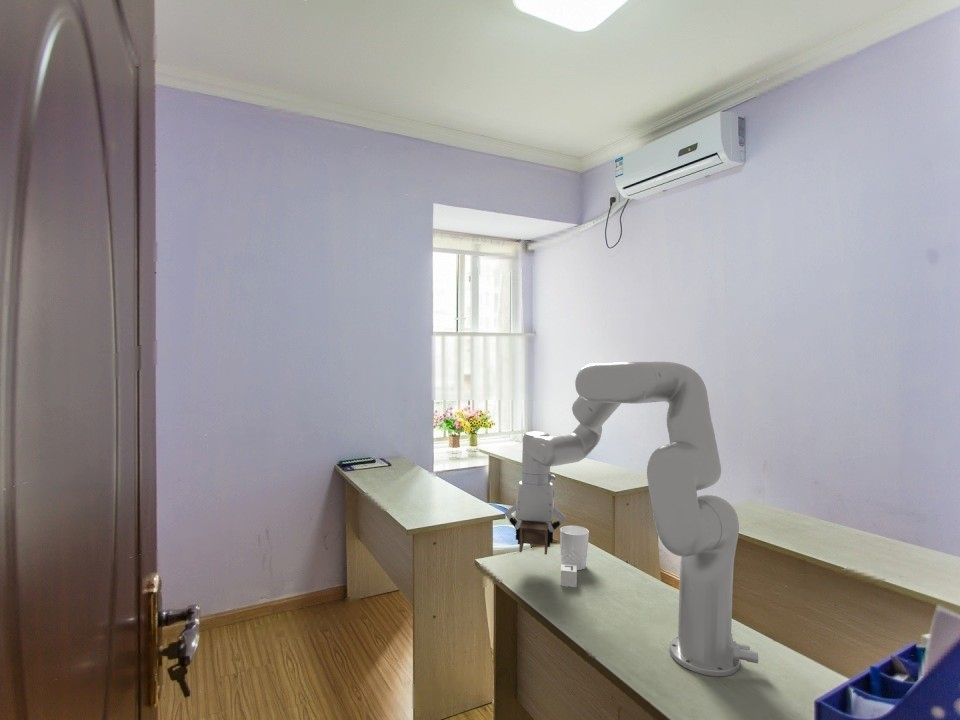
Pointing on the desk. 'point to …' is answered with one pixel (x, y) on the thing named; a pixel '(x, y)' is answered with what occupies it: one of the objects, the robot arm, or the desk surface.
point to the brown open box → (533, 534)
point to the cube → (568, 575)
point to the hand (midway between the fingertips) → (534, 543)
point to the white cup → (574, 546)
